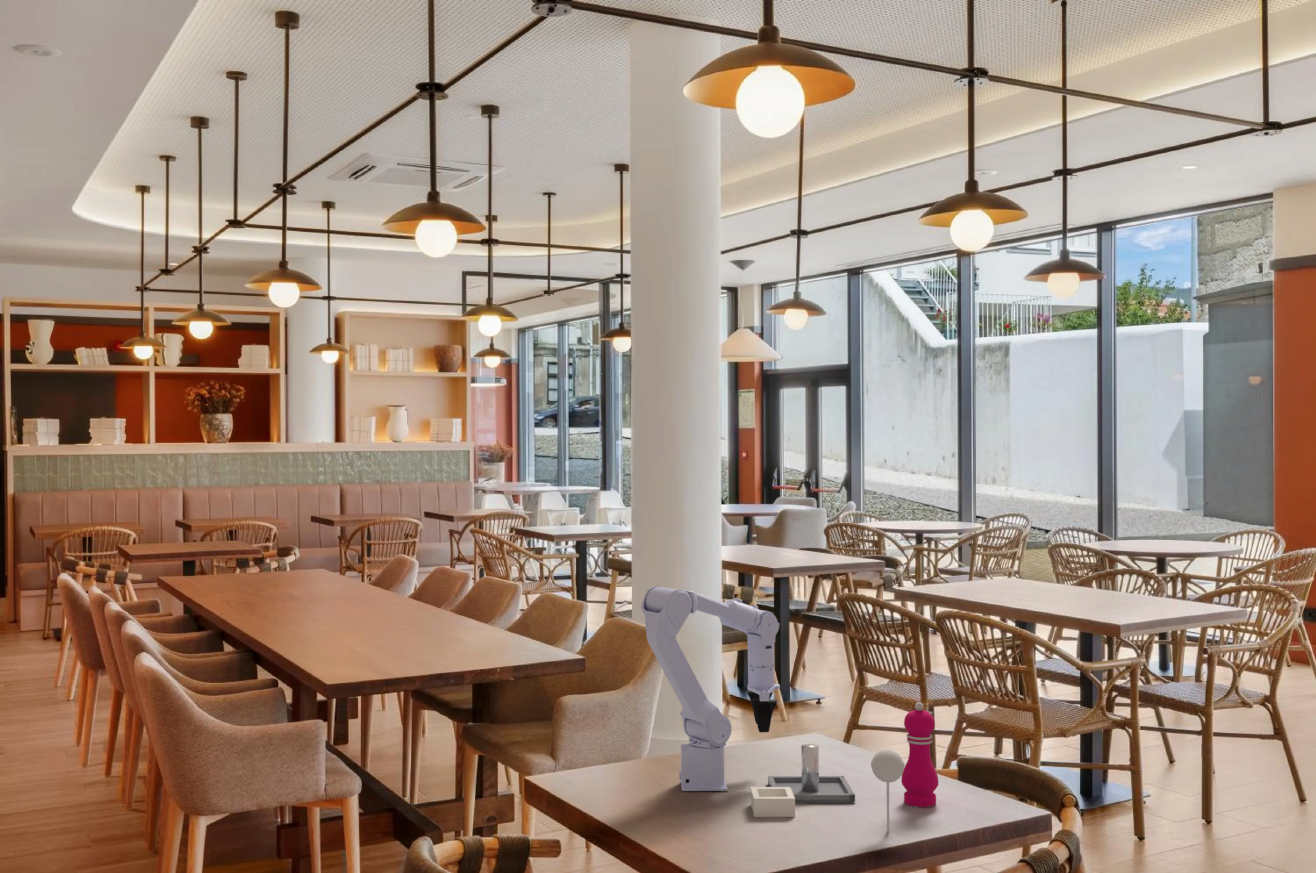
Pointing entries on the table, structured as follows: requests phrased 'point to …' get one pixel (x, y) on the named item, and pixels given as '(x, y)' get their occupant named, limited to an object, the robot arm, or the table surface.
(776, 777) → the tray
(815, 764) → the steel pin
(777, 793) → the white hollow block
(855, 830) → the table surface
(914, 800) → the pepper mill
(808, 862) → the table surface
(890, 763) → the lollipop
